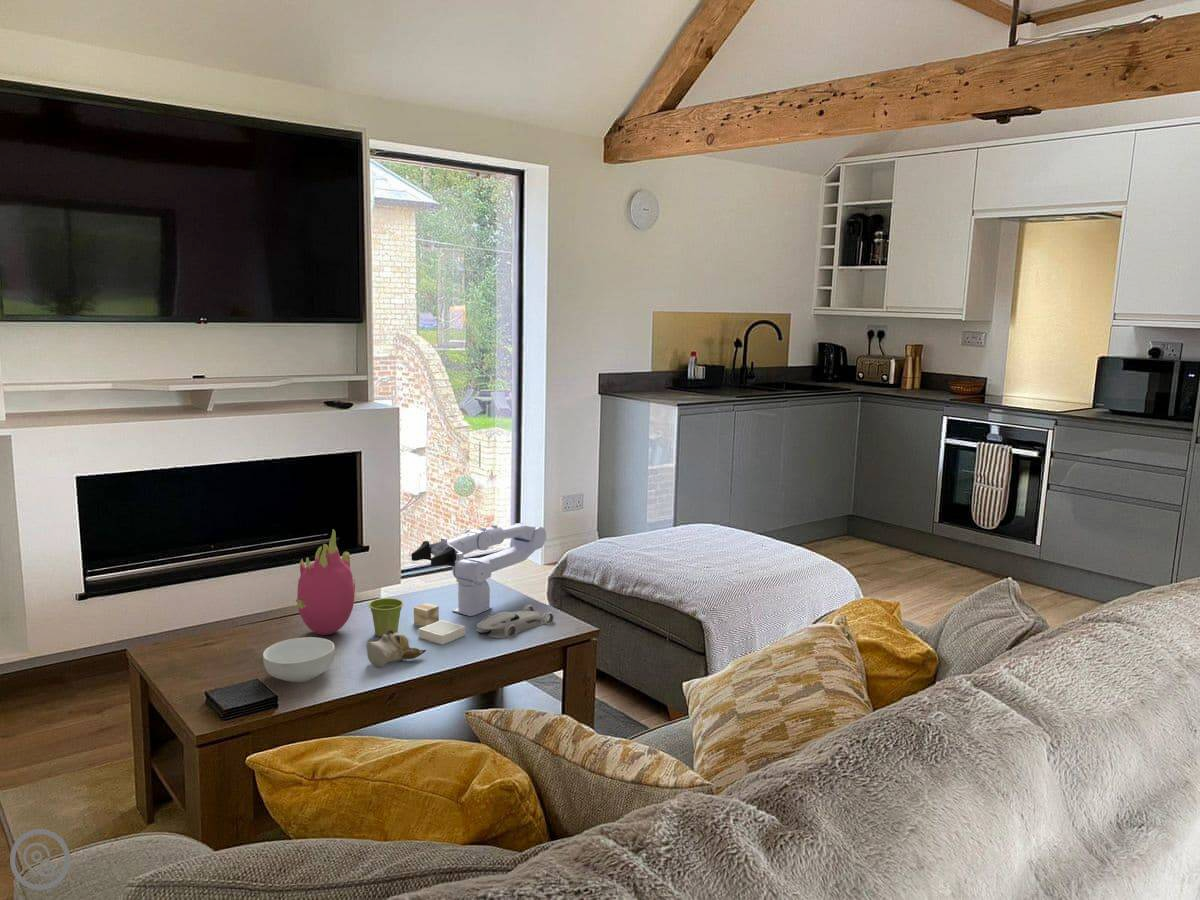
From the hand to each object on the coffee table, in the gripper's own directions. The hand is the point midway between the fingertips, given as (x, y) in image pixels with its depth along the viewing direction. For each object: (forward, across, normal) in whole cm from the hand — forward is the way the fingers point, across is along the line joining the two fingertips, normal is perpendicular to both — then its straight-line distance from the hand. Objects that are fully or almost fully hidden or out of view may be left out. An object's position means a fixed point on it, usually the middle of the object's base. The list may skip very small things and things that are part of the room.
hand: (421, 559), depth 252 cm
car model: (-16, +19, +22) cm, 33 cm away
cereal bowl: (+42, 0, +18) cm, 46 cm away
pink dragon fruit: (+20, -18, +20) cm, 33 cm away
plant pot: (+10, -5, +20) cm, 23 cm away
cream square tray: (+2, +9, +20) cm, 22 cm away
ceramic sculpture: (+22, +11, +19) cm, 31 cm away
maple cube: (-3, -2, +21) cm, 21 cm away
